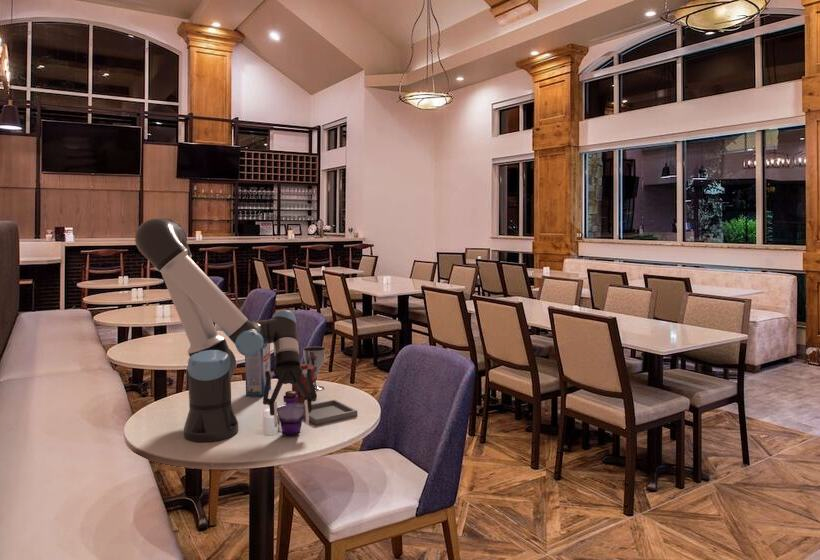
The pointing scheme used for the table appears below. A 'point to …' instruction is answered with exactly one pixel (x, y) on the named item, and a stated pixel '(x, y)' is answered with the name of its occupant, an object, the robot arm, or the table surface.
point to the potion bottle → (290, 414)
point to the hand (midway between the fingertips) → (291, 423)
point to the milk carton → (257, 372)
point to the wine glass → (315, 360)
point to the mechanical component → (304, 381)
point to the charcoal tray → (330, 412)
